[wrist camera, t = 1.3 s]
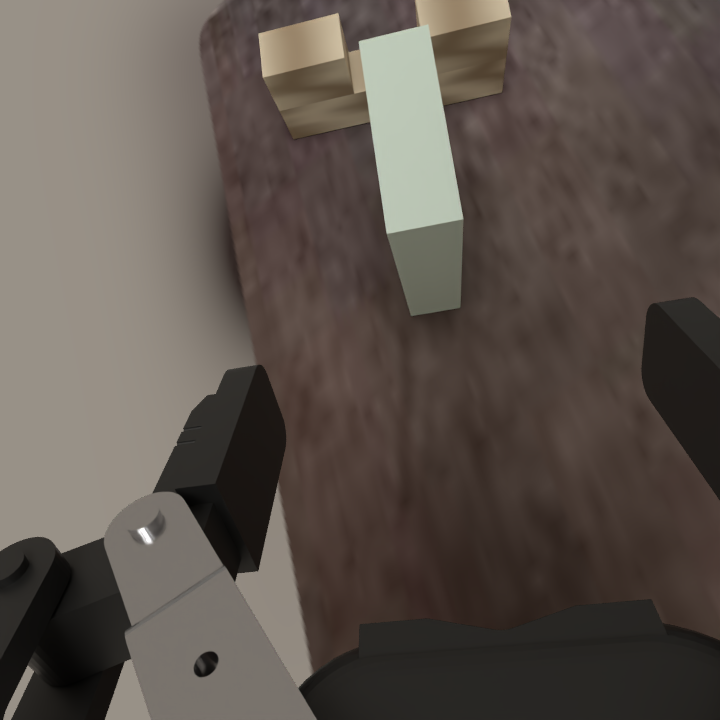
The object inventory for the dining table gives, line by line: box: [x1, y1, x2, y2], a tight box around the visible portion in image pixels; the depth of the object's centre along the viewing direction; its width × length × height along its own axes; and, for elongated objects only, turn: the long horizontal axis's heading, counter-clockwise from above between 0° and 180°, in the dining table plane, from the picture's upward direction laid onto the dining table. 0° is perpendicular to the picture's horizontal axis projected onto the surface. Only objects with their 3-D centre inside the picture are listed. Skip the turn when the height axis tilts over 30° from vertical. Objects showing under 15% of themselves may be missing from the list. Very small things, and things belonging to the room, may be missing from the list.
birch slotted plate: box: [259, 0, 511, 139], centre depth 33 cm, size 14×3×6 cm, turn 97°
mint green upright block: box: [359, 25, 463, 316], centre depth 28 cm, size 9×3×12 cm, turn 7°
